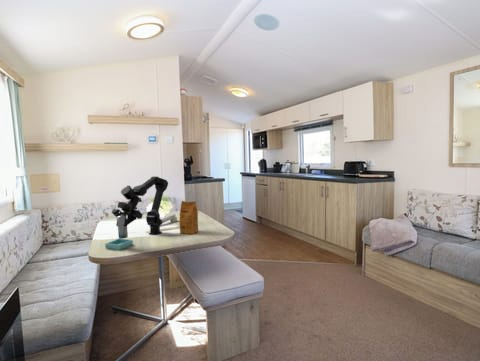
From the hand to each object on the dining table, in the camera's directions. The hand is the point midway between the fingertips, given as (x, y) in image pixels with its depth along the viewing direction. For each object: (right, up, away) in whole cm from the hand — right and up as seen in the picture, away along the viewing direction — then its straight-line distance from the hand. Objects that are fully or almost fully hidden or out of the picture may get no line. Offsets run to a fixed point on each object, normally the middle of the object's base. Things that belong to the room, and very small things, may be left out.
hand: (120, 226), depth 164 cm
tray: (-3, -13, +5) cm, 14 cm away
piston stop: (+1, -7, +2) cm, 7 cm away
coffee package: (+34, -10, +31) cm, 47 cm away
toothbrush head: (+10, -8, +58) cm, 59 cm away
